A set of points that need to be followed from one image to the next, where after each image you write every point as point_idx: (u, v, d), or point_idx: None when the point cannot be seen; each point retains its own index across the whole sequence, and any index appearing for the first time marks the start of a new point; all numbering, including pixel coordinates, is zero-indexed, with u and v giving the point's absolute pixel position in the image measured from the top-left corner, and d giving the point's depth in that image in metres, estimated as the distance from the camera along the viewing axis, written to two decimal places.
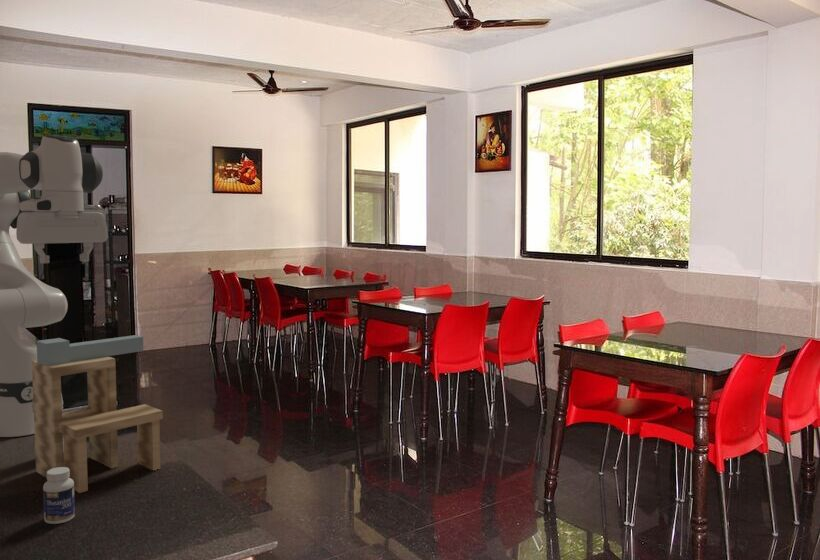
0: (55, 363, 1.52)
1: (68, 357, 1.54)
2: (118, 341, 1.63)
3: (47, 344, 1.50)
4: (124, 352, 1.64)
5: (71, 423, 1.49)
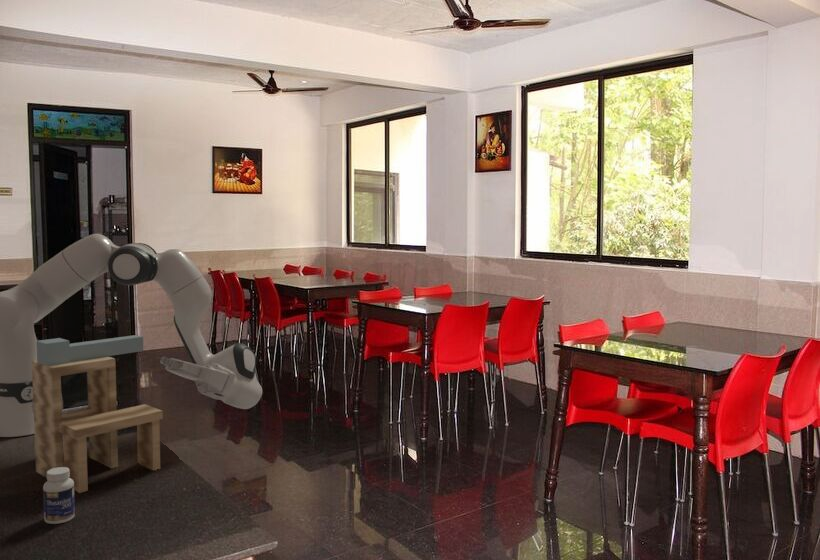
0: (55, 363, 1.52)
1: (68, 357, 1.54)
2: (118, 341, 1.63)
3: (47, 344, 1.50)
4: (124, 352, 1.64)
5: (71, 423, 1.49)
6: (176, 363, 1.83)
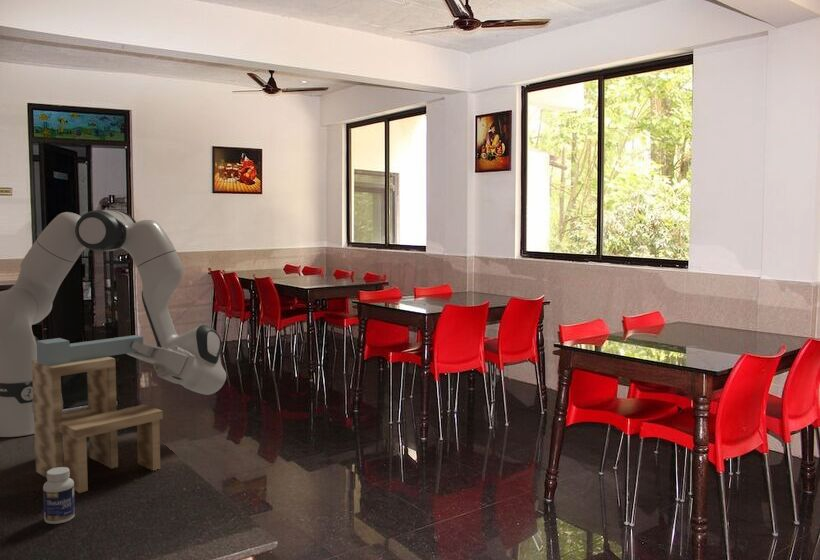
0: (55, 363, 1.52)
1: (68, 357, 1.54)
2: (118, 341, 1.63)
3: (47, 344, 1.50)
4: (124, 352, 1.65)
5: (71, 423, 1.49)
6: None
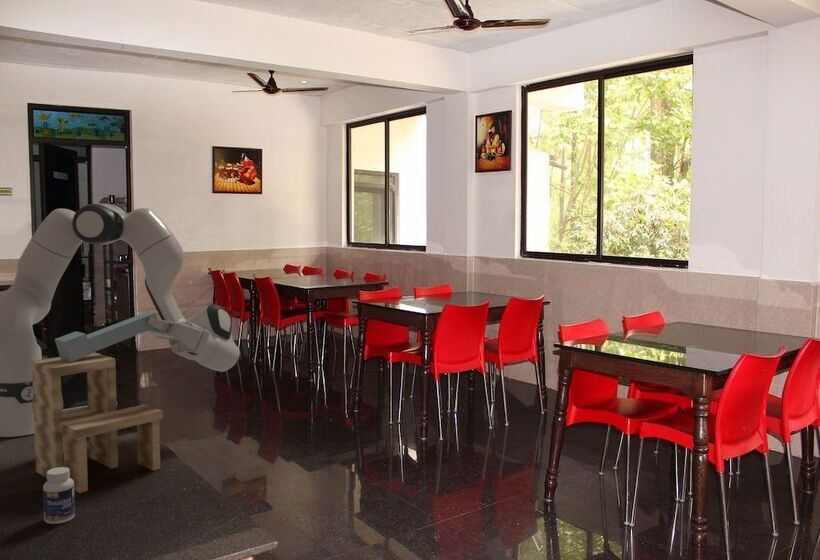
0: (78, 357, 1.55)
1: (89, 349, 1.57)
2: (133, 322, 1.66)
3: (65, 342, 1.53)
4: (141, 331, 1.67)
5: (71, 423, 1.49)
6: None
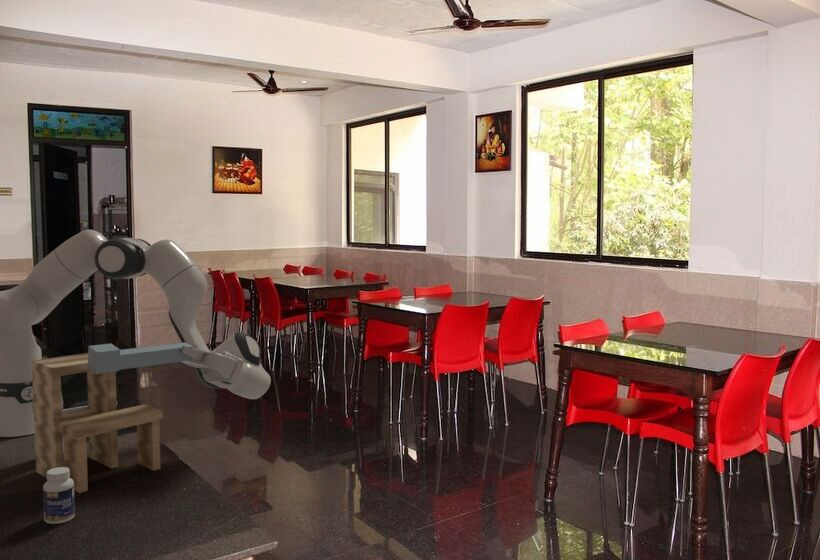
0: (104, 371, 1.51)
1: (117, 366, 1.53)
2: (168, 350, 1.62)
3: (98, 353, 1.50)
4: (173, 361, 1.64)
5: (71, 423, 1.49)
6: None
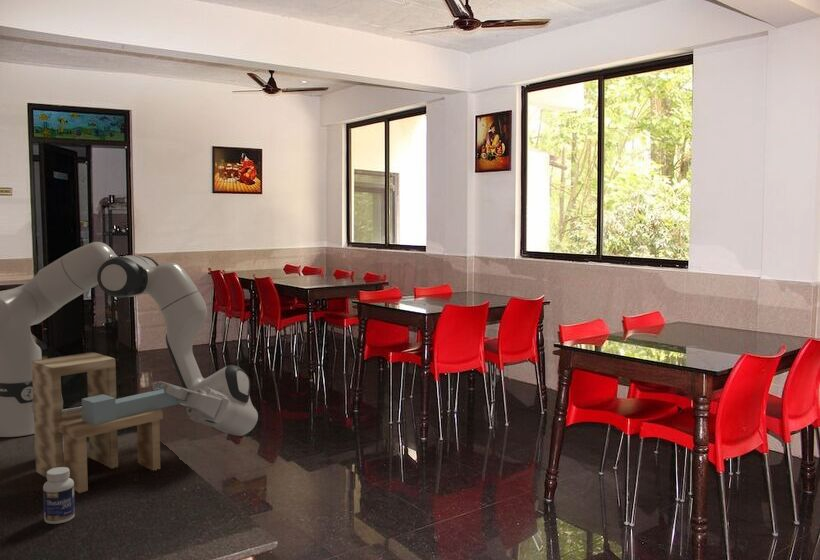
0: (102, 422, 1.49)
1: (114, 415, 1.51)
2: (160, 394, 1.61)
3: (94, 403, 1.47)
4: (166, 405, 1.62)
5: (71, 423, 1.49)
6: None
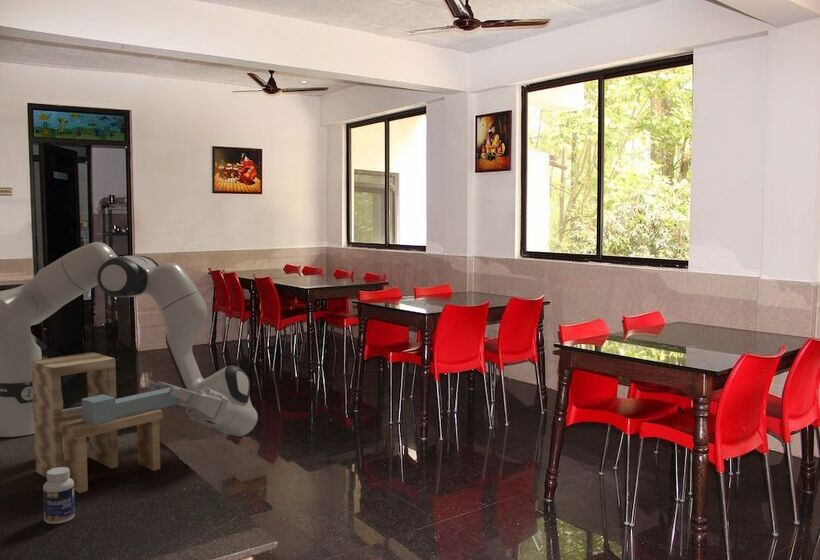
0: (102, 422, 1.49)
1: (114, 415, 1.51)
2: (160, 394, 1.61)
3: (94, 403, 1.47)
4: (166, 405, 1.62)
5: (71, 423, 1.49)
6: (165, 387, 1.70)
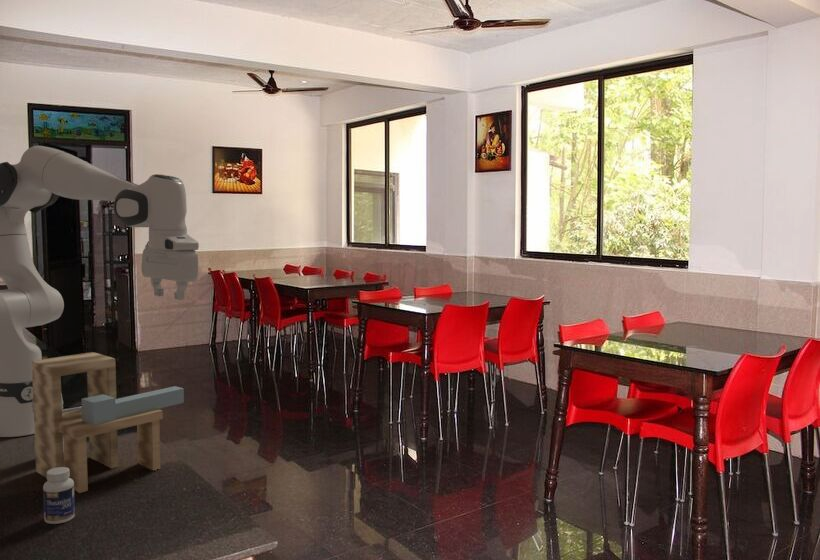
0: (102, 422, 1.49)
1: (114, 415, 1.51)
2: (160, 394, 1.61)
3: (94, 403, 1.47)
4: (166, 405, 1.62)
5: (71, 423, 1.49)
6: (155, 277, 1.71)
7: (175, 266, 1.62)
